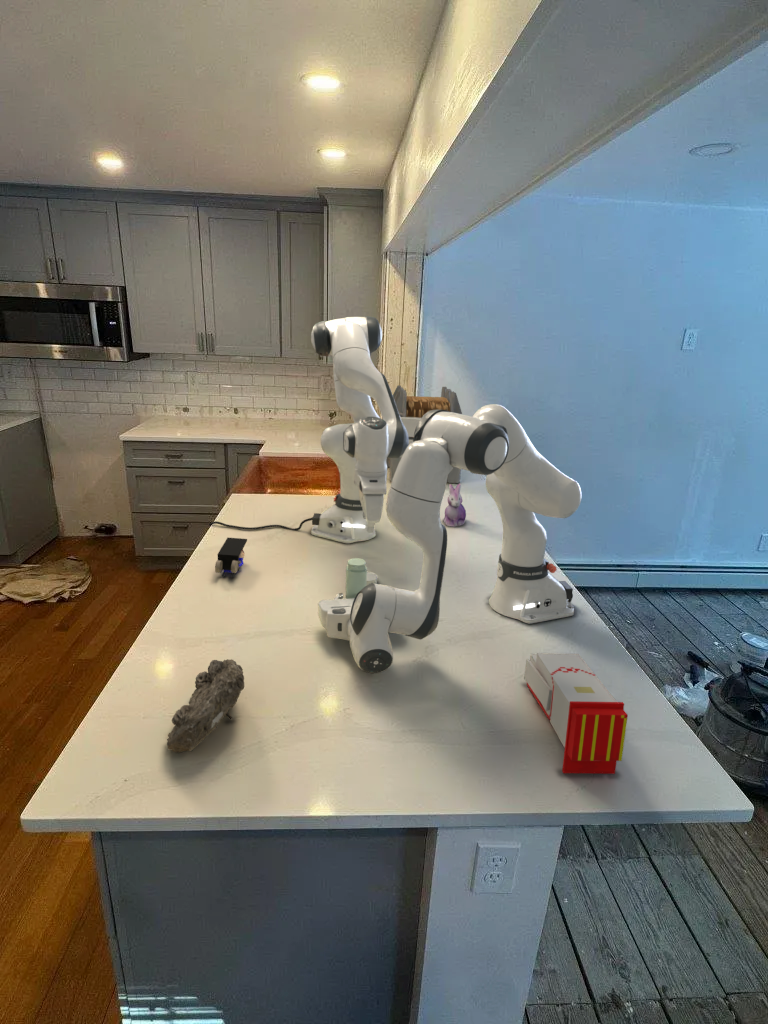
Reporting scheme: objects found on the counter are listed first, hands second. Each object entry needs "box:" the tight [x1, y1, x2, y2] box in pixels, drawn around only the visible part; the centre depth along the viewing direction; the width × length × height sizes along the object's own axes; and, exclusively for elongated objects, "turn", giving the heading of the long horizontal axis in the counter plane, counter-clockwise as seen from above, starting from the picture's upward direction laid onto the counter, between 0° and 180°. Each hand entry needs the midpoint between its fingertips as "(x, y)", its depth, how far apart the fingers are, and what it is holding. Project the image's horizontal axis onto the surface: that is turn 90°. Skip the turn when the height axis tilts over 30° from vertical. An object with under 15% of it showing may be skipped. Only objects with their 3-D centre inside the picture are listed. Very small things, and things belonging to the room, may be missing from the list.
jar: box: [345, 557, 368, 599], centre depth 143 cm, size 5×5×15 cm
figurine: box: [443, 483, 467, 528], centre depth 210 cm, size 9×10×15 cm
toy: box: [523, 652, 628, 775], centre depth 110 cm, size 12×13×30 cm
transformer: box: [386, 384, 463, 484], centre depth 268 cm, size 34×33×41 cm
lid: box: [366, 571, 378, 586], centre depth 163 cm, size 6×6×2 cm
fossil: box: [166, 658, 245, 754], centre depth 106 cm, size 22×10×15 cm
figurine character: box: [214, 537, 248, 578], centre depth 166 cm, size 7×8×15 cm
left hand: (367, 524), depth 159 cm, fingers open, 8 cm apart
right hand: (355, 594), depth 145 cm, fingers open, 7 cm apart
